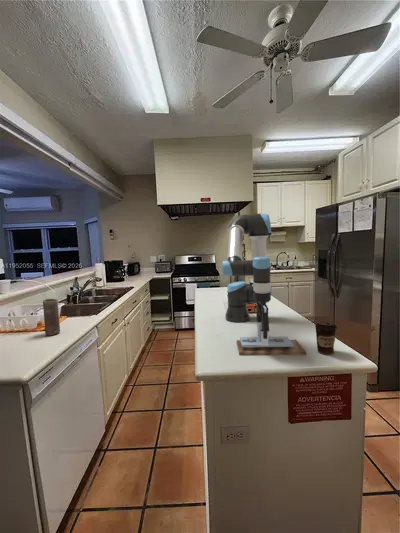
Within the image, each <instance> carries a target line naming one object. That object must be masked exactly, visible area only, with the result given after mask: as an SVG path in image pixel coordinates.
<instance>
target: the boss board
mask: <svg viewBox="0 0 400 533" xmlns="http://www.w3.org/2000/svg"><path fill="white" fill-rule="evenodd" d="M290 341H291V342H292V343H293V344H294V347H242V345H241V341H240V339H238V340H236V346H237V350H238V354H239V356H269V355H271V356H272V355H273V356H275V355H276V356H278V355H280V356H281V355H283V356H284V355H285V356H286V355H288V356H289V355H293V356H294V355H306V354H307V352H306V350H305V349H304V348H303V346H302V345H301V344H300V343H299V342H298V340H297V339H290ZM248 342H255V339H249V341H248ZM276 342H282V339H280V338H277V339H276Z"/></svg>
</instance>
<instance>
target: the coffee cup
mask: <svg viewBox="0 0 400 533" xmlns="http://www.w3.org/2000/svg"><path fill="white" fill-rule="evenodd" d="M314 327H315V335H316V336H315V337H316V348H317V352H318V353H320V354H322V355H326V356H330V355H334V354H335V351H334V350H335V349H334V346H335V342H336V331H337V330H338V329H337V328H338V326H337V325H336V322H334V321H331V320H319V321H317V322H316V323H315V325H314Z"/></svg>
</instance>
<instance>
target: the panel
mask: <svg viewBox="0 0 400 533" xmlns="http://www.w3.org/2000/svg"><path fill="white" fill-rule="evenodd" d="M260 330H262V325H261V322H258V335H257V336H240V337H239V340H240V341H241V345H242V347H294V344H293V343H292V342H291V341H290V340H291V338H289V337H288V336H268V346H262V343H261V331H260ZM258 336H259V337H258ZM277 338H280V339H282V342H276V339H277ZM249 339H255V342H248V341H249Z"/></svg>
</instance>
